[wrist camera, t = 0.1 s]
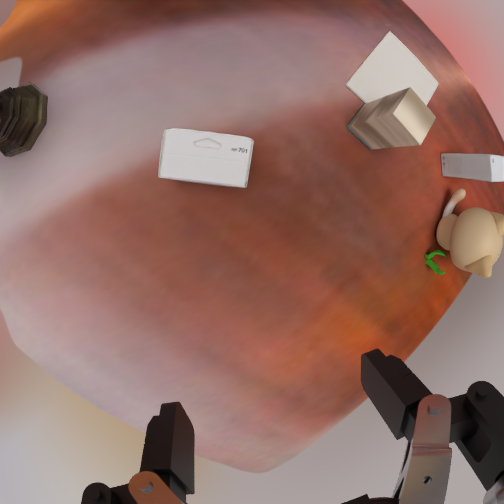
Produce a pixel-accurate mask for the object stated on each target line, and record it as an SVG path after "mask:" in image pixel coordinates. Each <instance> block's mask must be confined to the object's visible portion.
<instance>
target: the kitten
mask: <svg viewBox="0 0 504 504" xmlns="http://www.w3.org/2000/svg"><path fill="white" fill-rule="evenodd" d="M465 195H466V192H465V190H464V189H463V188H459V189H457V190H456V191H455V192H454V193H453V195H452V197H451V199H450V200H449V202H448V204H447V205H446V207H445V209H444V212H443V216H442V219H441V220H440V222H439V224H438V227H437V241H438V243H439V245H440V246H442V247H443V248H444V249H446V250H450V256H451V259H452V261H453V263H454V264H455V266H457V267H458V268H460V269H462V270H465V271H469V272H471V273H475V274H478V275H480V276H482V277H487V278H488V277H490V276H491V274H492V265H493V264H494V263H495V262H496V260H497V259H498V257H499V255H500V253H501V250H502V246H503V234H504V215H503V214H499V213H496V212H488V211H487V210H485V209H482V208H478V207H472V208H468V209H466V210H464V211H463V212H462V213H461V214H460V215H459V216H457V215H455V214H452V211H453V209H454V207H455V205H456V203H457V202H459V201H460V200H462V199H463V198H464V197H465ZM435 254H438V255H442V256H445V257H446V255H445V254H444V253H443V252H442V251H440V250H435V251H434V252H432V253H428V254H425V258H426V259H428V260H427V261H426V263H425V264H428V265H429V266H430V267H431V268H432V269H433V270H434V271H435V272H436V273H437V274H439V275H441V274H444V273H446V272H444V271H440V270H439V267H438V265H437V264H436V263H434V262H433V261H431V260H430V259H431V258H432V257H433V256H434V255H435Z"/></svg>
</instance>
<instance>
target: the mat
mask: <svg viewBox="0 0 504 504" xmlns="http://www.w3.org/2000/svg"><path fill="white" fill-rule="evenodd" d="M438 84H439V83H438V82H437V81H436V80H435V78H434V77H433V76H432V75H431V74H430V72H429V71H428V70H427V69H426V68H425V67H424V66H423V64H422V63H421V62H420V61H419V60H418V59H417V58H416V57H415V56H414V55H413V54H412V53H411V52H410V50H409V49H408V48H407V47H406V46H405V45H404V44H403V43H402V42H401V41H400V40H399V39H398V38H396V37H395V36H394V35H393V34H392V33H391V32H390V31H389V32H388V33H387V34H386V35H385V37H384V38H383V39H382V40H381V41H380V43H379V44H378V45H377V46H376V47H375V49H374V50H373V51H372V52H371V53H370V55H369V56H368V57H367V58H366V60H365V61H364V62H363V63H362V64H361V66H360V67H359V68H358V69H357V71H356V72H355V73H354V74H353V76H352V77H351V78H350V79H349V81H348V82H347V83H346V84H345V86H346V87H347V88H348V89H350V90H351V91H352V92H353V93H354V94H355V95H356V96H357V97H358V98H359V99H361V100H362V101H363V102H364V103H365V104H366V103H369V102H371V101H374V100H377V99H379V98H382V97H384V96H387V95H390V94H392V93H395V92H398V91H401V90H403V89H406V88H409V87H411V88H412V90H413V91H414V92H415V93H416V94H417V95H418V96H419V98H420V99H421V100H422V101H423V102H424V103H425V105H427V104H428V102H429V100H430V98H431V97H432V95H433V93H434V91H435V89H436V88H437V86H438Z"/></svg>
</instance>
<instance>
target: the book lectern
mask: <svg viewBox="0 0 504 504" xmlns="http://www.w3.org/2000/svg"><path fill="white" fill-rule="evenodd" d="M47 99H48V97H47V96H46V95H45V94H44V93H43V92H42V91H41V90H39V89H38V88H37V87H36V86H35V85H34V84H32V83H30V82H28V83H26V84H24V85H21V86H19V87H17V88H13V89H12V88H11V87H9V88H7V89H5V90H3V91H1V92H0V151H1V152H2V153H3V154H4V156H9V157H11V156H14V155H16V154H19V153H22V152H25V151H28V150H31V148H32V146H33V144H34V143H35V141H36V139H37V138H38V136H39V134H40V133H41V131H42V129H43V128H44V126H45V125H46V117H47Z"/></svg>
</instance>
